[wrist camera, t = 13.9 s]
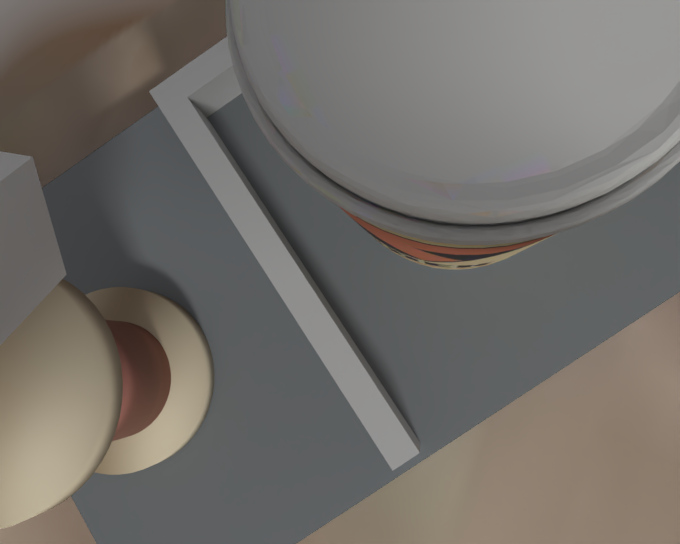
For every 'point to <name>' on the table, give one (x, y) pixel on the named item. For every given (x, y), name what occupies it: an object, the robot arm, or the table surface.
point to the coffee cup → (465, 112)
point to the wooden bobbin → (96, 392)
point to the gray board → (320, 318)
